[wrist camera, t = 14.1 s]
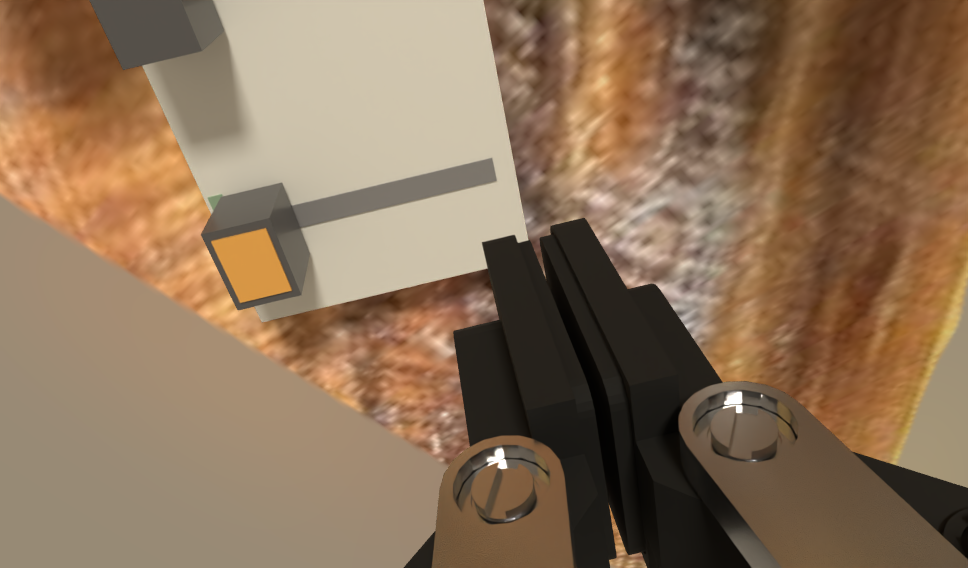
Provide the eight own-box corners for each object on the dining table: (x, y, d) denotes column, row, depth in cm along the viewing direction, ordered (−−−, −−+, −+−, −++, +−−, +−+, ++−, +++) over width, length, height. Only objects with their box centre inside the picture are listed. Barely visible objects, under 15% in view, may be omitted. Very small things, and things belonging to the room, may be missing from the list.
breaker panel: (431, -238, 27) (436, -251, 24) (521, 233, 39) (531, 258, 36) (71, -152, 27) (37, -156, 24) (270, 293, 38) (261, 323, 36)
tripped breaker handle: (282, 182, 32) (269, 219, 28) (310, 253, 34) (301, 296, 30) (220, 196, 32) (200, 235, 28) (252, 267, 34) (237, 311, 30)
